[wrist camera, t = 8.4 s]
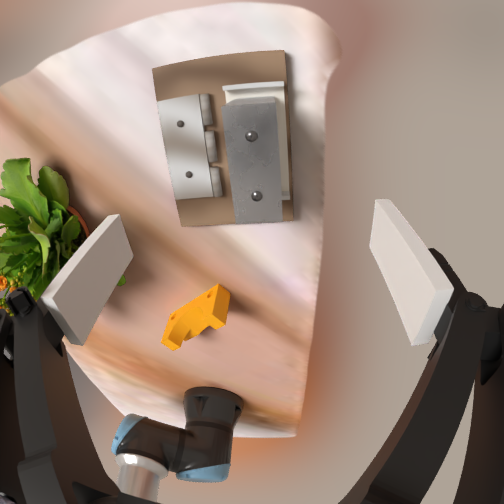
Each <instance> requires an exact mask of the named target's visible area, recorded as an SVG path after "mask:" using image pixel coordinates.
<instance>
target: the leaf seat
mask: <svg viewBox="0 0 504 504" xmlns="http://www.w3.org/2000/svg"><path fill="white" fill-rule="evenodd" d="M222 88H223V91H225V96H226V104H227V103H228V102H230V101H232V100H233V99H236V98H246V97H259V96H274V97H275V101H276V109H277V123H278V138H279V155H280V172H281V192H282V200H290V192H289V169H288V148H287V129H286V113H285V98H284V81H276V82H259V83H246V84H236V85H227V86H222Z"/></svg>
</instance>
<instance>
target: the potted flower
mask: <svg viewBox="0 0 504 504" xmlns="http://www.w3.org/2000/svg"><path fill="white" fill-rule="evenodd" d="M5 162H6V163H4V164H3V169H4V170H5V172H2V173H1V179H2V185H3V187H4V188H5V189H3V188H2V189H1V190H0V196H2V197H5V198H8V199H11V200H10V201H11V204H12V205H13V206H14V209H13V208H11V207H10V208H9V206H6V205H3V207H4V208H3V207H0V223H3V224H5V225H3V226H0V229H1V228H4V227H6V233H4V234H3V235H2V237H0V291H1V290H2V291H4V289H5V288H8V289H7V291H6V293H5V295H4V297H3V298H1V299H0V309H2V308H3V309H5V310H6V311H7V313H8V314H9V315H10V316H14V315H13V313H12V312H11V310H10V309H9V307H8V306H7V304H6V302H5V301H6V299H5V296H6V294H7V293H8V291H9V289H10V292H12V291H14V290H15V289H17V288H18V287H21V286H26V287H27V288H28V289H29V291H30V293H31V295H32V296H33V298H34V300H35V301H37V300H38V298H39V297H40V296H41V294H42V293H43V292H44V290H45V289H46V287H47V286H48V285H49V284H50V282H51V281H52V280H53V278H55V276H56V274H57V273H58V272H59V271H60V270H61V269H62V268H63V267H64V266H65V264H66V263H67V262H68V261H69V259H70V258H71V257H72V256H73V255H74V253H75V252H76V251H77V250H78V249H79V248H80V246H81V245H82V244H83V243H84V242H85V241H86V239H87V238H88V237H89V230H88V228H87V226H86V223H85V221H84V220H83V219H82V217H81V216H80V214H79V213H78V212H77V210H75V209H74V208H72V207H71V206H68V205H69V189H68V187H67V183H66V181H65V179H64V180H63V177H62V175H59V174H58V173H57V172H56V171H53V170H52V168H50V167H48V166H43V167H42V169H41V170H40V171H39V178H38V183H39V184H38V186H36V185H35V184H34V183H33V180H32V176H31V164H30V158H20V159H8V160H6V161H5ZM4 222H5V223H4ZM7 227H8V229H7ZM10 282H11V283H10ZM125 283H126V280H125V277H124V275H122V276H121V278H120V280H119V281H118V283H117V285H119V286H121V285H123V284H125ZM8 286H9V287H8ZM6 308H8V309H6Z"/></svg>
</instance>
